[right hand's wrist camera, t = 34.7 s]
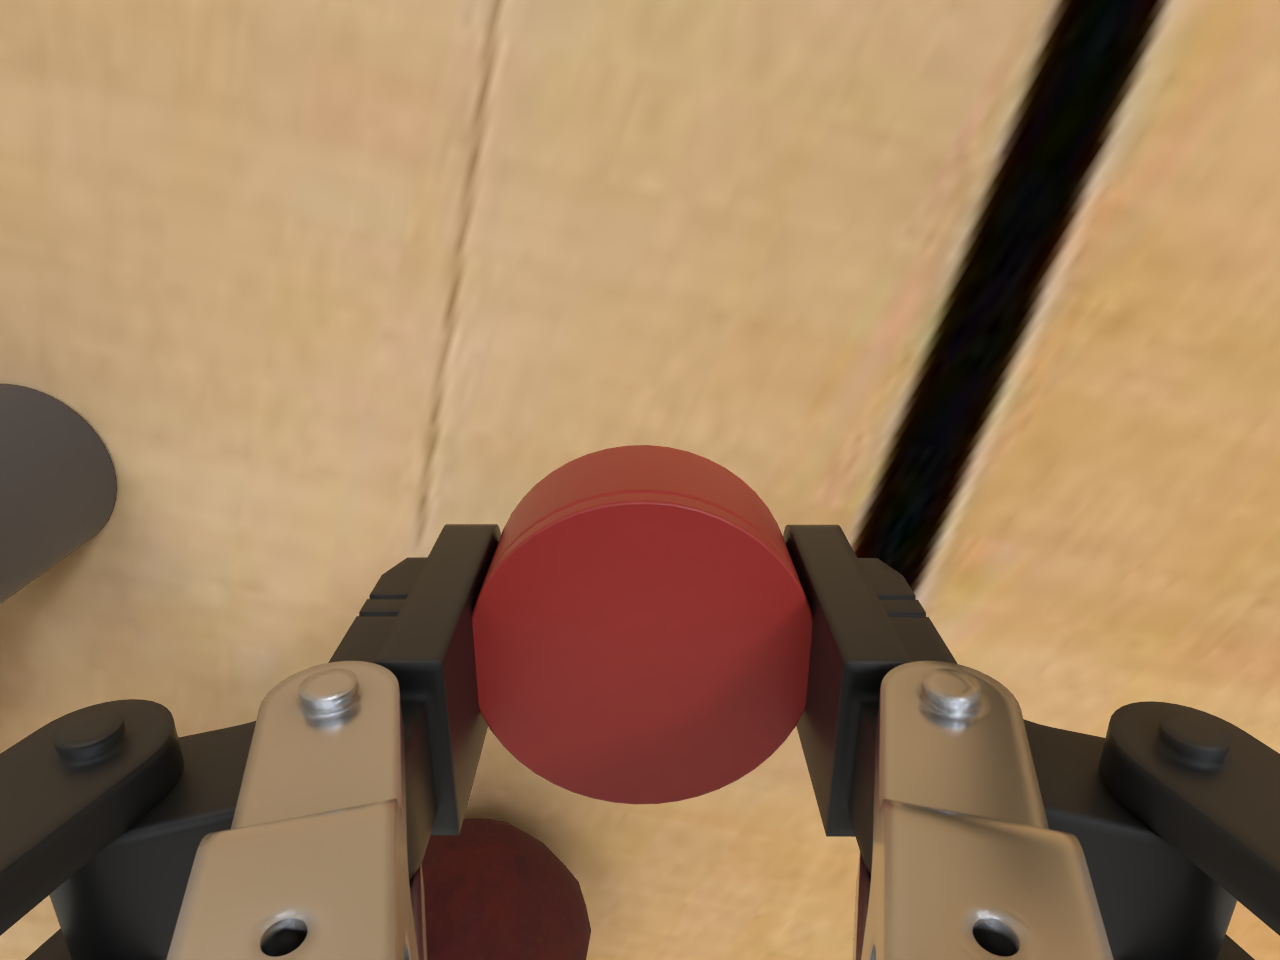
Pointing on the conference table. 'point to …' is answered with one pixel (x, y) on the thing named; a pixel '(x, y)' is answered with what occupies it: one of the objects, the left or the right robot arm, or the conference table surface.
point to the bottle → (47, 485)
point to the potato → (500, 897)
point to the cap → (642, 628)
